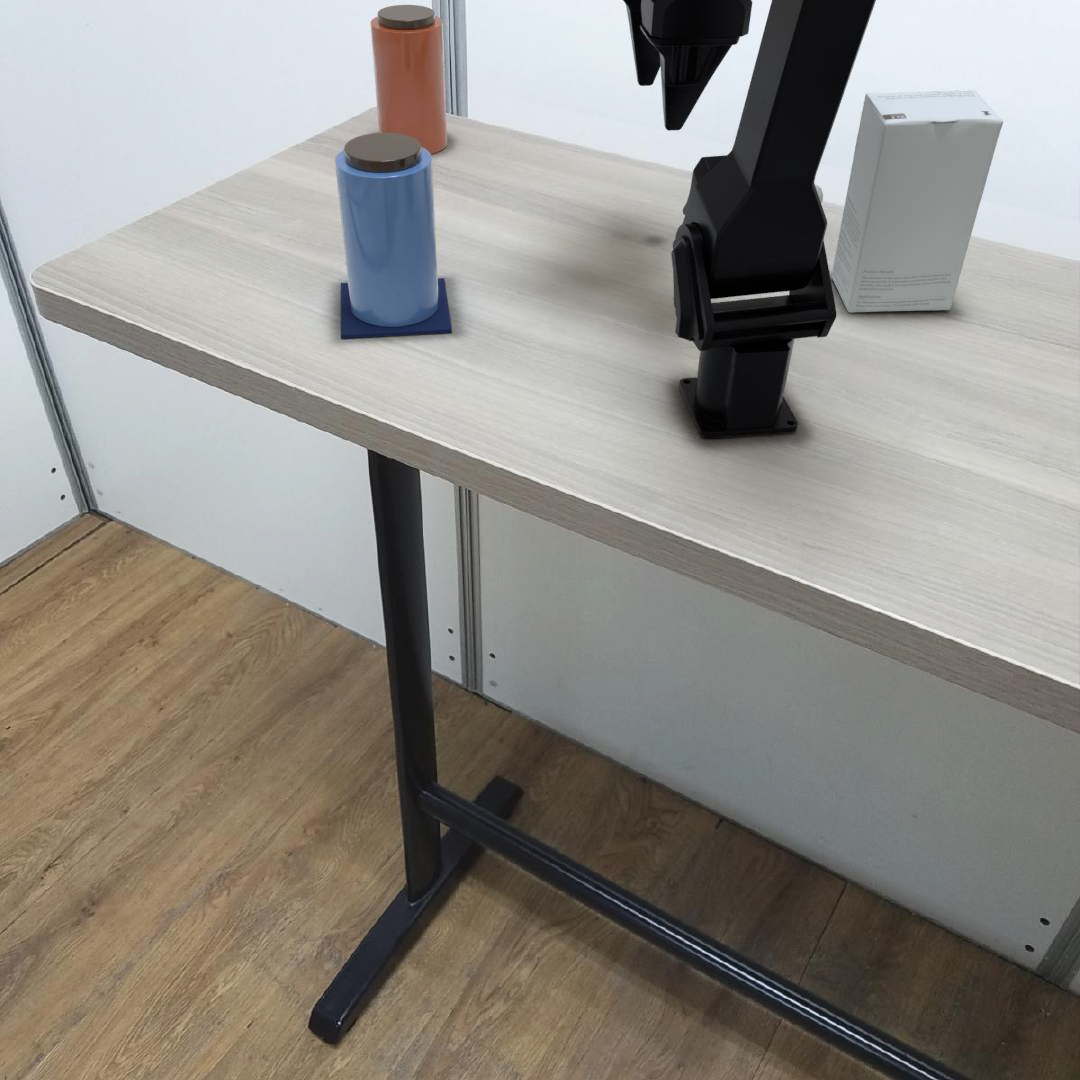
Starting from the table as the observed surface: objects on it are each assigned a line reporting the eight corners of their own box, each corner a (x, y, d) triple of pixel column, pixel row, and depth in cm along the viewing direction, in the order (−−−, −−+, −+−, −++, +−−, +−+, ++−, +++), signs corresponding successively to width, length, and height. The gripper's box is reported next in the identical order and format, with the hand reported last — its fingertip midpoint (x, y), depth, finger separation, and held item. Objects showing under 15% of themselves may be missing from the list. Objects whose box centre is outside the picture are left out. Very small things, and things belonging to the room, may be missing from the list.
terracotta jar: (449, 155, 104) (444, 22, 96) (380, 157, 104) (370, 23, 96) (445, 130, 109) (439, 1, 101) (379, 132, 108) (369, 3, 101)
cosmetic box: (927, 278, 87) (980, 87, 77) (952, 315, 82) (1011, 117, 72) (824, 278, 86) (864, 86, 77) (843, 316, 82) (887, 116, 72)
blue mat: (452, 332, 79) (451, 329, 79) (341, 338, 78) (340, 335, 78) (444, 281, 85) (444, 277, 85) (341, 286, 84) (340, 282, 84)
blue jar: (456, 310, 81) (450, 151, 73) (379, 336, 78) (364, 173, 70) (409, 276, 85) (398, 121, 77) (334, 300, 82) (315, 141, 74)
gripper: (534, -171, 74) (531, 67, 84) (578, -118, 60) (568, 160, 70) (692, -170, 75) (670, 64, 85) (771, -119, 61) (734, 154, 72)
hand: (658, 106), depth 78 cm, fingers open, 9 cm apart
